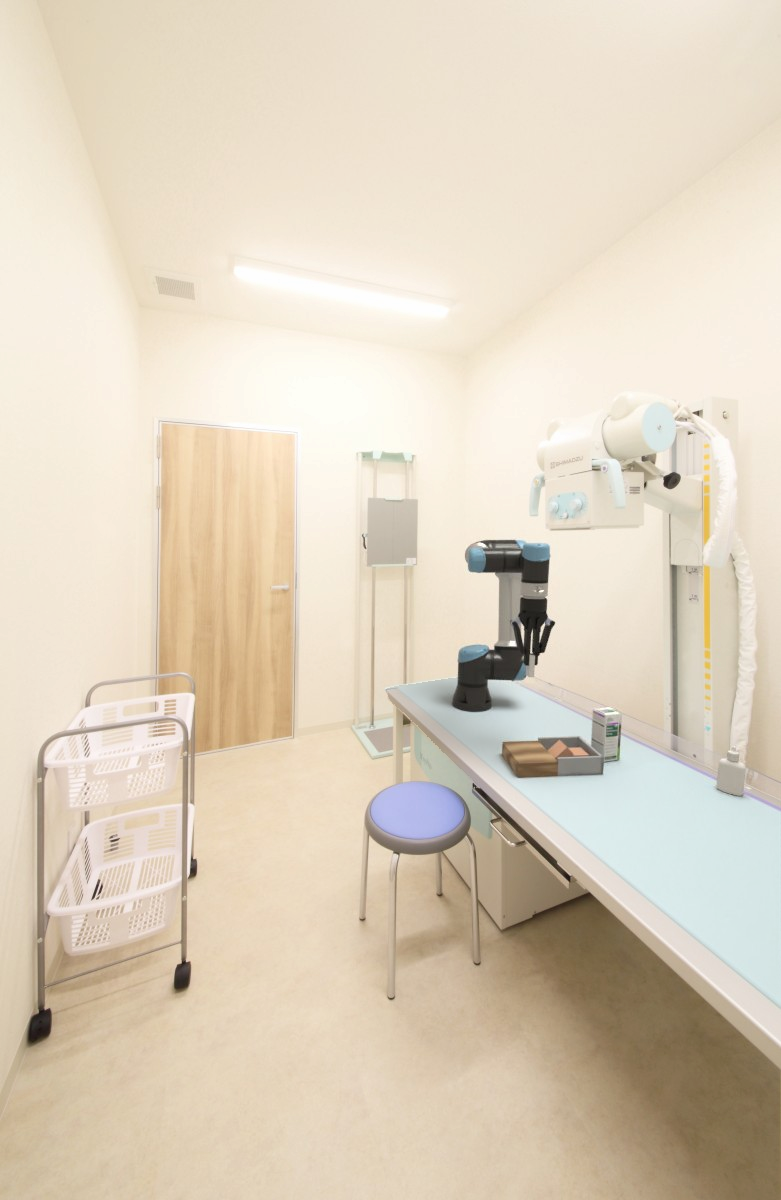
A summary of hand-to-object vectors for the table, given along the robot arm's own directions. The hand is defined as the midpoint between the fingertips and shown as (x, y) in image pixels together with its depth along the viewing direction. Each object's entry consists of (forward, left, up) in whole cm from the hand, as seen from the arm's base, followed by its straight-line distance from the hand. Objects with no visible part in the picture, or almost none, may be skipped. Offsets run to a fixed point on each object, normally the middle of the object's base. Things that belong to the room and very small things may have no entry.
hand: (529, 675), depth 140 cm
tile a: (+7, +8, -22) cm, 25 cm away
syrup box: (+4, +22, -25) cm, 33 cm away
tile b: (+7, +12, -21) cm, 25 cm away
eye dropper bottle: (+25, +44, -24) cm, 57 cm away
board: (+7, -2, -24) cm, 25 cm away
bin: (+7, +10, -24) cm, 27 cm away
